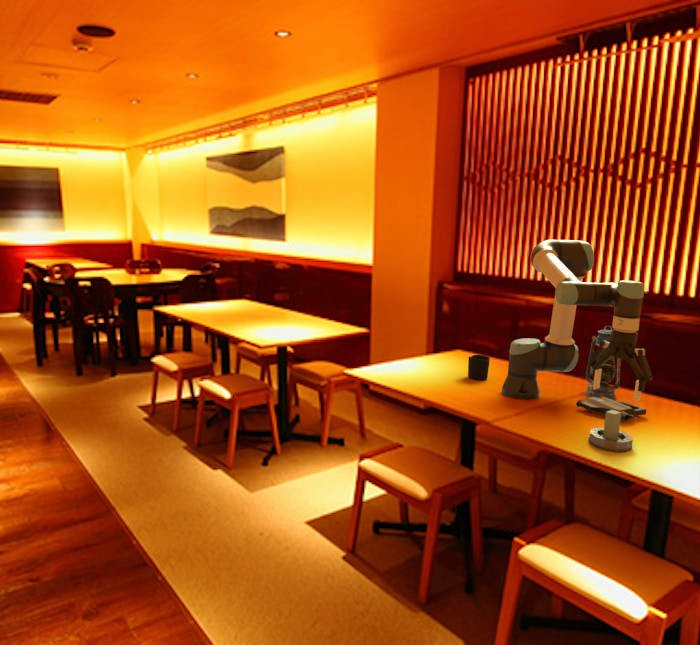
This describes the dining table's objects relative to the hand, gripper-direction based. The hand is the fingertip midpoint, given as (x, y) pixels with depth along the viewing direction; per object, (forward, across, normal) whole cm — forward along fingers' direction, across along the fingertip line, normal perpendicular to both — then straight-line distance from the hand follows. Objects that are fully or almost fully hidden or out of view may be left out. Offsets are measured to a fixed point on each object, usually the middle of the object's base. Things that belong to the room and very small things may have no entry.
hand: (615, 394), depth 180 cm
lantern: (+18, -31, +49) cm, 61 cm away
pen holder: (+19, -75, +22) cm, 81 cm away
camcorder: (+18, -15, +30) cm, 38 cm away
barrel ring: (+17, +1, 0) cm, 17 cm away
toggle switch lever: (+16, 0, 0) cm, 16 cm away
